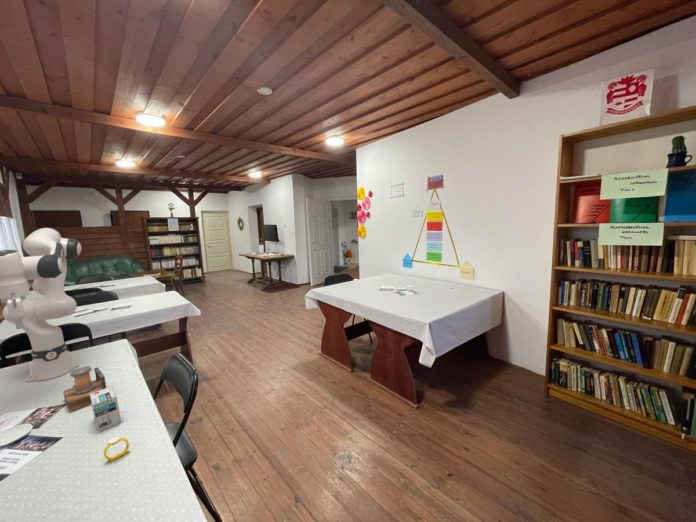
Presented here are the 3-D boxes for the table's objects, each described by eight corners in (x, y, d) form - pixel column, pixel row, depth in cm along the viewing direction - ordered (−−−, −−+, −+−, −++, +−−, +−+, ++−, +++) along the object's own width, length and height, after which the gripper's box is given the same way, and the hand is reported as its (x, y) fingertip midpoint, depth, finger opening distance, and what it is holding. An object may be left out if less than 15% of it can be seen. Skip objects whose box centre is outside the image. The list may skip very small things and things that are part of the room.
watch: (128, 448, 92) (126, 431, 92) (130, 452, 91) (128, 435, 90) (104, 460, 88) (101, 443, 87) (106, 465, 86) (103, 447, 85)
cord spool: (73, 391, 120) (68, 371, 118) (92, 384, 125) (88, 364, 123) (76, 396, 116) (71, 375, 114) (96, 388, 121) (92, 368, 119)
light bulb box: (121, 423, 105) (117, 396, 103) (97, 433, 100) (92, 405, 98) (116, 410, 112) (112, 385, 110) (94, 419, 107) (89, 393, 106)
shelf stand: (64, 399, 121) (60, 378, 119) (101, 386, 130) (98, 366, 129) (70, 412, 112) (65, 390, 111) (109, 397, 121) (105, 376, 120)
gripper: (26, 293, 107) (33, 328, 109) (23, 287, 120) (29, 319, 122) (-1, 297, 102) (7, 334, 104) (-1, 290, 115) (6, 323, 117)
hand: (19, 326), depth 113 cm, fingers open, 8 cm apart
